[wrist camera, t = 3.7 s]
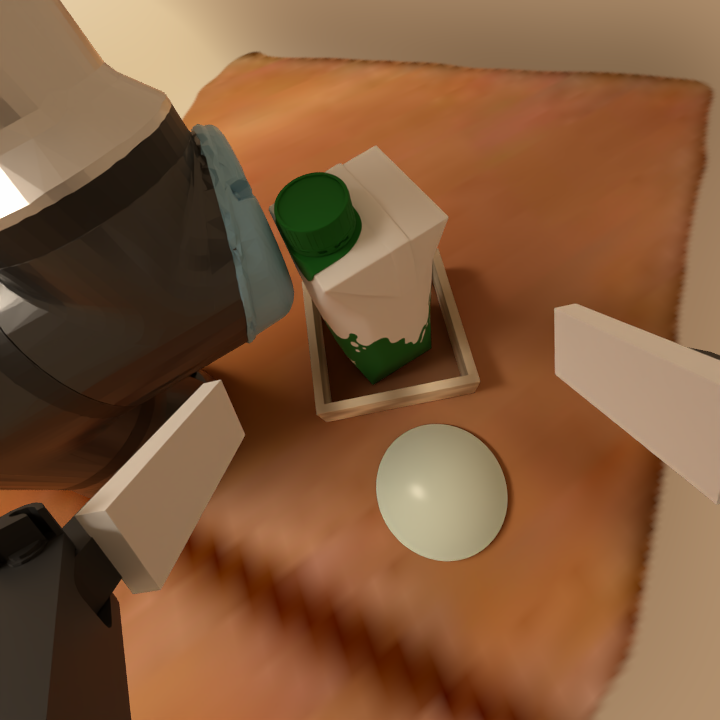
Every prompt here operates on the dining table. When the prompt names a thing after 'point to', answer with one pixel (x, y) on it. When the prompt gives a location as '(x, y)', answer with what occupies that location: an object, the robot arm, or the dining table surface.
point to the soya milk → (365, 257)
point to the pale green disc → (441, 492)
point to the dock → (399, 396)
